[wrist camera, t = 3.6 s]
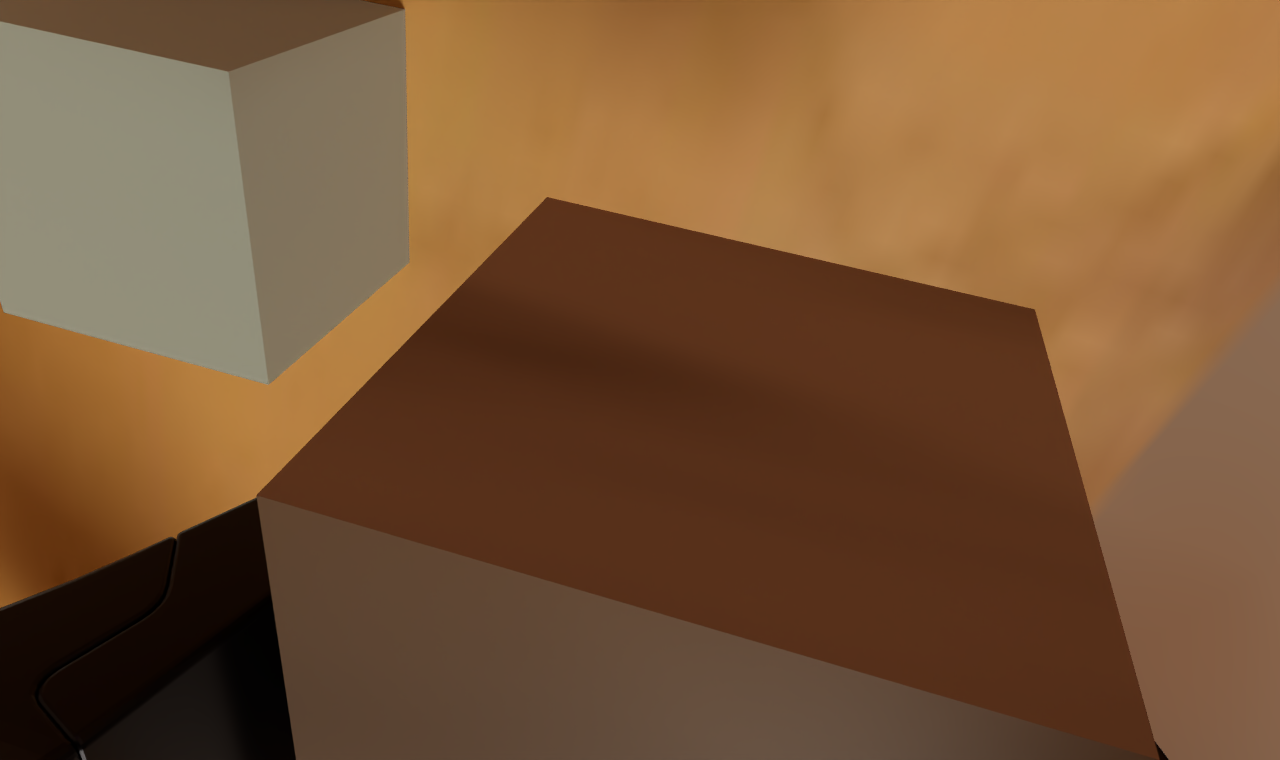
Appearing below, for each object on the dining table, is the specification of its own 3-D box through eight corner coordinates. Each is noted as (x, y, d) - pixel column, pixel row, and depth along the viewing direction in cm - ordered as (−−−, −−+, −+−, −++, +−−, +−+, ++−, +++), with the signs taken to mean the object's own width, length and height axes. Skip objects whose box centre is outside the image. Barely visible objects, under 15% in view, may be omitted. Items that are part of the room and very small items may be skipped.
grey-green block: (411, 260, 18) (268, 384, 14) (198, 208, 19) (3, 312, 15) (407, 8, 15) (228, 71, 11) (158, -43, 16) (-96, 0, 12)
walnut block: (886, 645, 11) (875, 1113, 7) (520, 540, 12) (319, 913, 8) (1034, 309, 8) (1159, 759, 4) (546, 197, 9) (257, 496, 5)
